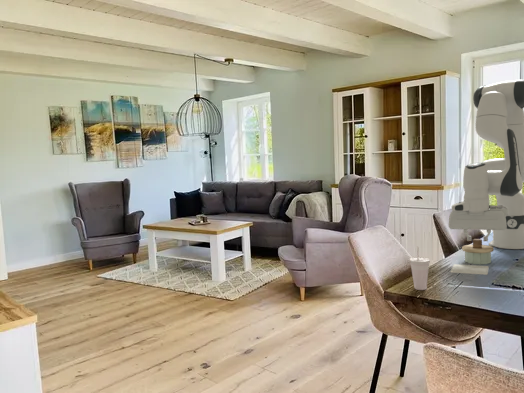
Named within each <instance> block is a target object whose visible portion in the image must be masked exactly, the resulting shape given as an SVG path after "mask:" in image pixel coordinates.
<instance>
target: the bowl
mask: <svg viewBox="0 0 524 393" xmlns="http://www.w3.org/2000/svg"><path fill="white" fill-rule="evenodd" d="M464 262H465V263H467V264H470V265H487V264H488V265H489V264H491V262H492V252H489V253H470V252H465V251H464Z"/></svg>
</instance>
